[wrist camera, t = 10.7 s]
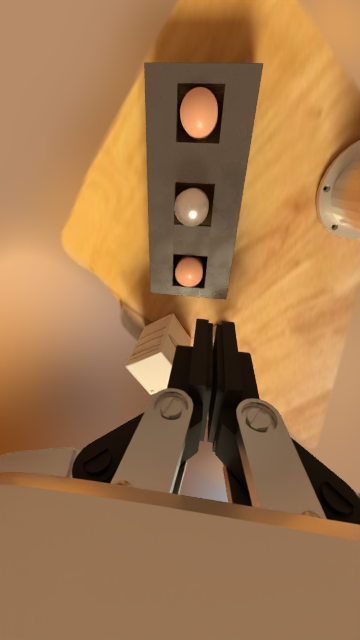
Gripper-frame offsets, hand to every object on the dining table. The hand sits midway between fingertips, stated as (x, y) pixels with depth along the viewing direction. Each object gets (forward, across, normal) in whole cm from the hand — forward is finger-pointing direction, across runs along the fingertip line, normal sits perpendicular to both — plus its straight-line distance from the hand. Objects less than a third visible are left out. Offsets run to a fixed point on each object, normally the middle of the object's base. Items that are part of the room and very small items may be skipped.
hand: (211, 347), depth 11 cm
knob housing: (+31, +3, -3) cm, 31 cm away
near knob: (+27, +3, -12) cm, 30 cm away
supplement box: (+31, +7, +21) cm, 38 cm away
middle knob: (+25, +3, -3) cm, 25 cm away
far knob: (+27, +3, +6) cm, 28 cm away
